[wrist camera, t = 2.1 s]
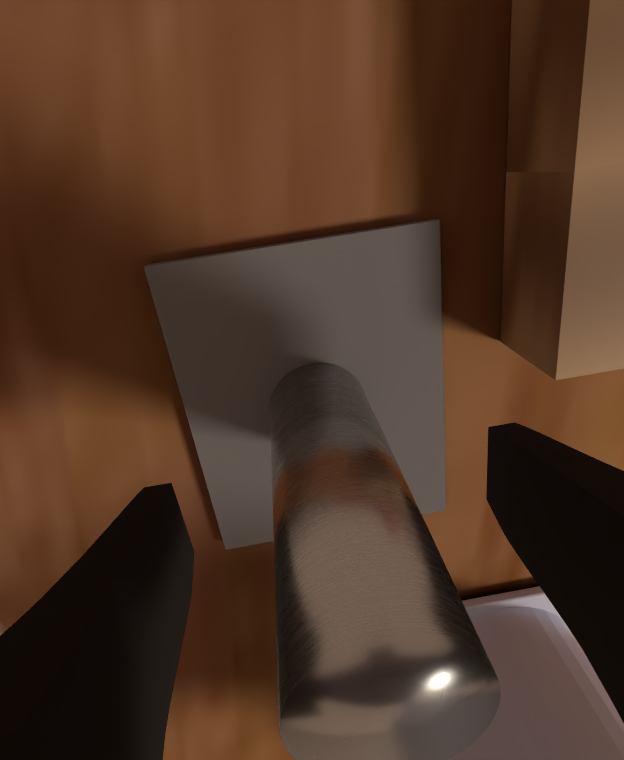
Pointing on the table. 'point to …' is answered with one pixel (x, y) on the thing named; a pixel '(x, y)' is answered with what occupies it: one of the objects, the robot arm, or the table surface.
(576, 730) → the robot arm
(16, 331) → the table surface
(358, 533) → the peg
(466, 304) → the table surface
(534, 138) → the hole block
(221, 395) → the mat
